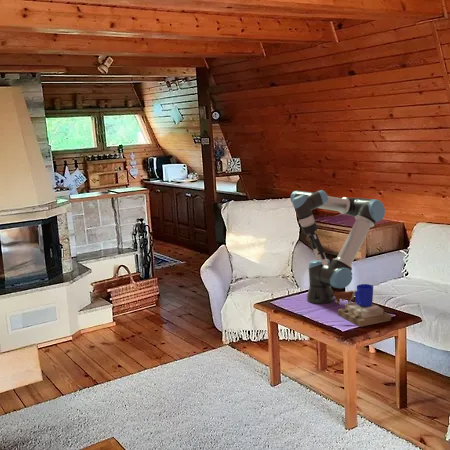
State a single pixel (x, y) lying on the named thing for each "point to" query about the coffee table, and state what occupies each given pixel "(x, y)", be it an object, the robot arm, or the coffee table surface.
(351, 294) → the bull figurine
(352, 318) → the plinth
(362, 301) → the mug
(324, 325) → the coffee table surface
